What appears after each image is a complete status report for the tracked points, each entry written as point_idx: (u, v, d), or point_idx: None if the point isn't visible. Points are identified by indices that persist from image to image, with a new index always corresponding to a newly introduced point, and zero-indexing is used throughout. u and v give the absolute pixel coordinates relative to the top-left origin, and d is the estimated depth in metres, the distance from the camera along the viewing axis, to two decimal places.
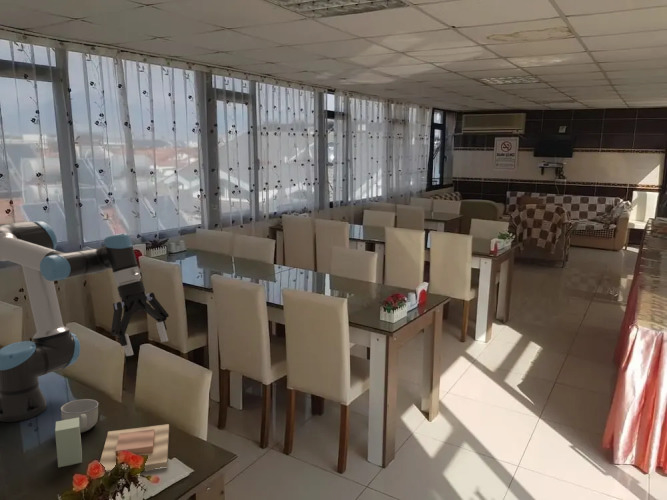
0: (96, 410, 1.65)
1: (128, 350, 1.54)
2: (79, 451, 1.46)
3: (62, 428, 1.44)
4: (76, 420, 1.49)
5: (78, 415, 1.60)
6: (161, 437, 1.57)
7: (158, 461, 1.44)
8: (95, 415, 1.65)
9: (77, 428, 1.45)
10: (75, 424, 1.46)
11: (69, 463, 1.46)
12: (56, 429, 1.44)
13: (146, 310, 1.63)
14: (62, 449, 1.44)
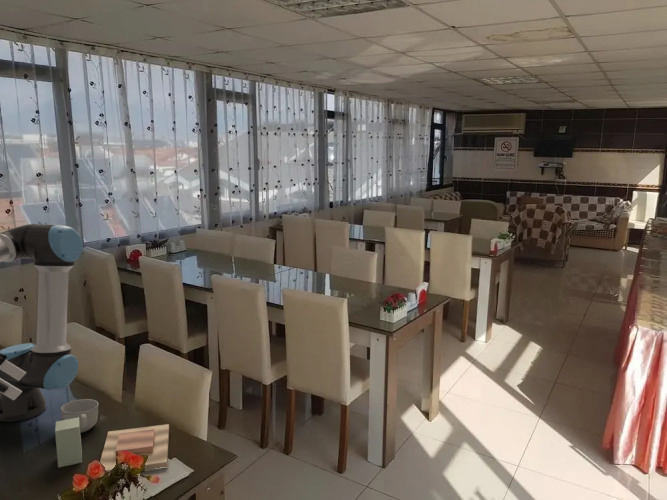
0: (96, 410, 1.65)
1: None
2: (79, 451, 1.46)
3: (62, 428, 1.44)
4: (76, 420, 1.49)
5: (78, 415, 1.60)
6: (161, 437, 1.57)
7: (158, 461, 1.44)
8: (95, 415, 1.65)
9: (77, 428, 1.45)
10: (75, 424, 1.46)
11: (69, 463, 1.46)
12: (56, 429, 1.44)
13: None
14: (62, 449, 1.44)
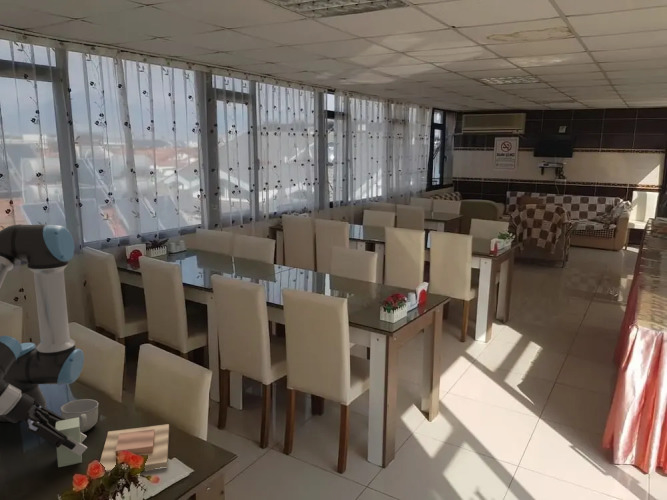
0: (96, 410, 1.65)
1: None
2: None
3: (62, 428, 1.44)
4: (76, 420, 1.49)
5: (78, 415, 1.60)
6: (161, 437, 1.57)
7: (158, 461, 1.44)
8: (95, 415, 1.65)
9: (77, 428, 1.45)
10: (75, 424, 1.46)
11: (69, 463, 1.46)
12: None
13: None
14: (62, 449, 1.44)
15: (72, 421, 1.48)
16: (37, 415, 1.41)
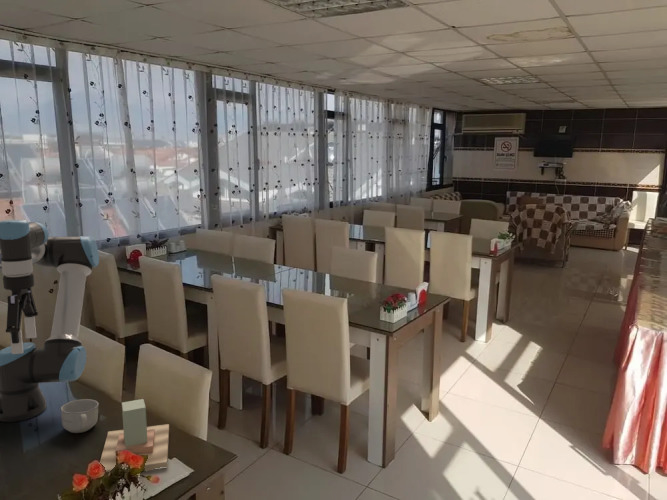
0: (96, 410, 1.65)
1: None
2: (145, 431, 1.50)
3: (129, 408, 1.47)
4: (141, 401, 1.52)
5: (78, 415, 1.60)
6: (161, 437, 1.57)
7: (158, 461, 1.44)
8: (95, 415, 1.65)
9: (144, 409, 1.48)
10: (141, 405, 1.50)
11: (135, 443, 1.49)
12: (124, 409, 1.47)
13: None
14: (129, 429, 1.47)
15: (137, 402, 1.51)
16: (23, 297, 1.46)
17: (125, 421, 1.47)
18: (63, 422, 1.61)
